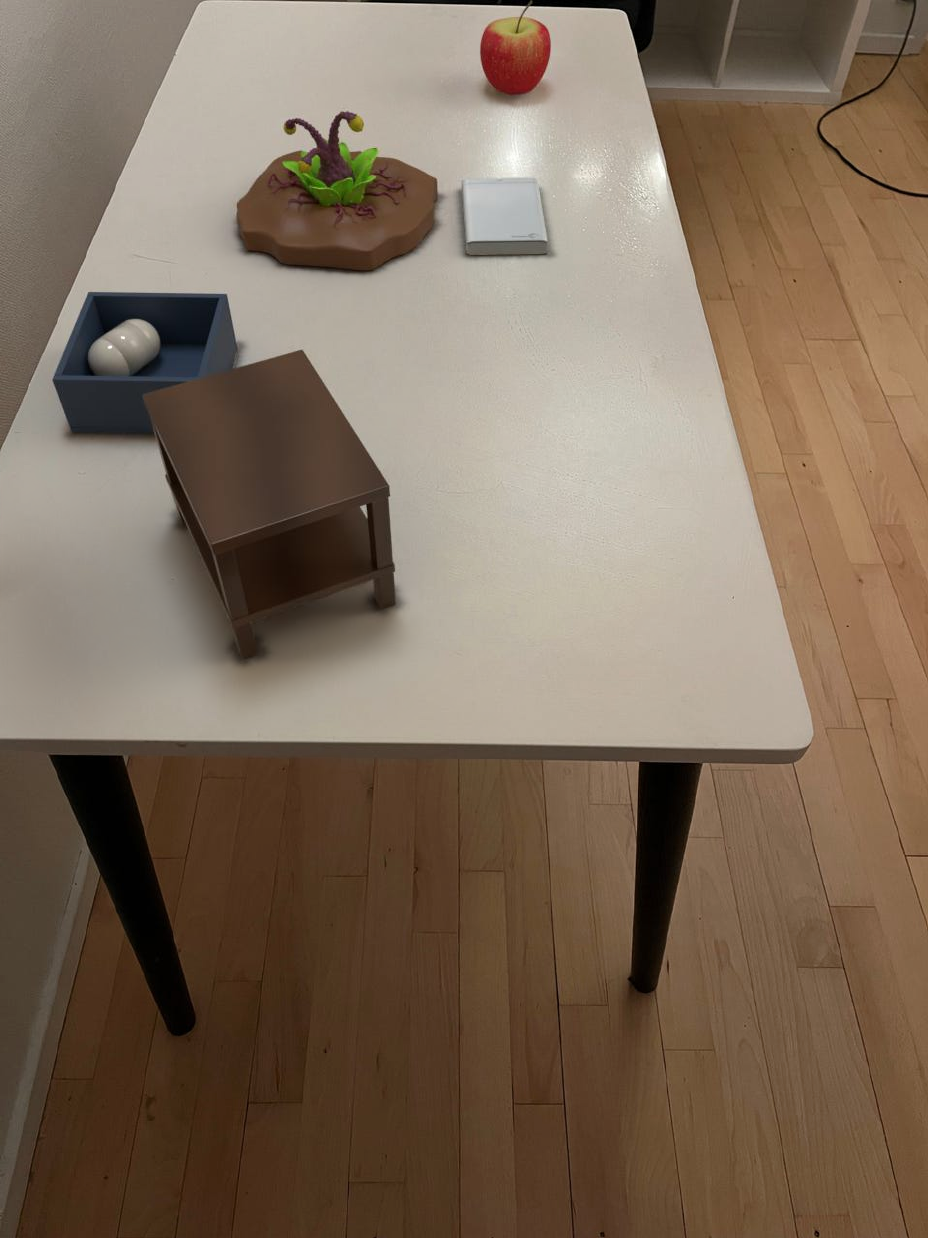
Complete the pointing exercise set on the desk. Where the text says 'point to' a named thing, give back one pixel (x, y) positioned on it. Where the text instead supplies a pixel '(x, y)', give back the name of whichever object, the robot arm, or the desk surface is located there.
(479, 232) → the hard drive
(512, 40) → the apple
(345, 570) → the side table
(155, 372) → the bin
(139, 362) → the white capsule
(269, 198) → the plant
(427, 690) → the desk surface
